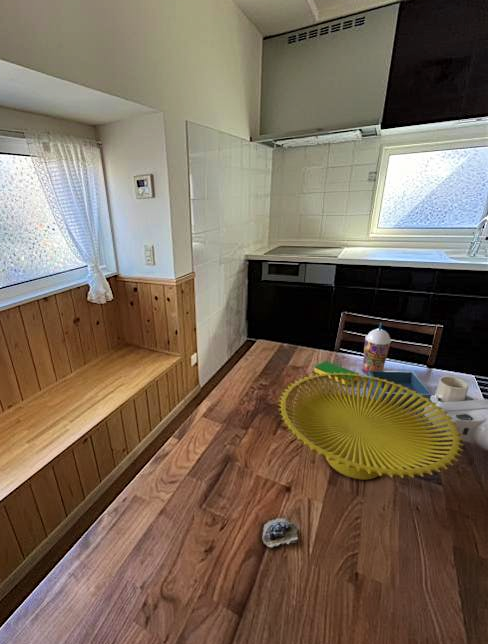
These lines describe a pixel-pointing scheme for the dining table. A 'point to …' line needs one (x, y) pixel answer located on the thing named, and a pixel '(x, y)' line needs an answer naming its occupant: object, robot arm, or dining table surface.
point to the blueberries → (279, 532)
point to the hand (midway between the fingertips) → (446, 396)
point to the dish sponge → (332, 368)
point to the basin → (405, 380)
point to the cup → (451, 389)
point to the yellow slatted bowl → (368, 428)
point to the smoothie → (376, 349)
